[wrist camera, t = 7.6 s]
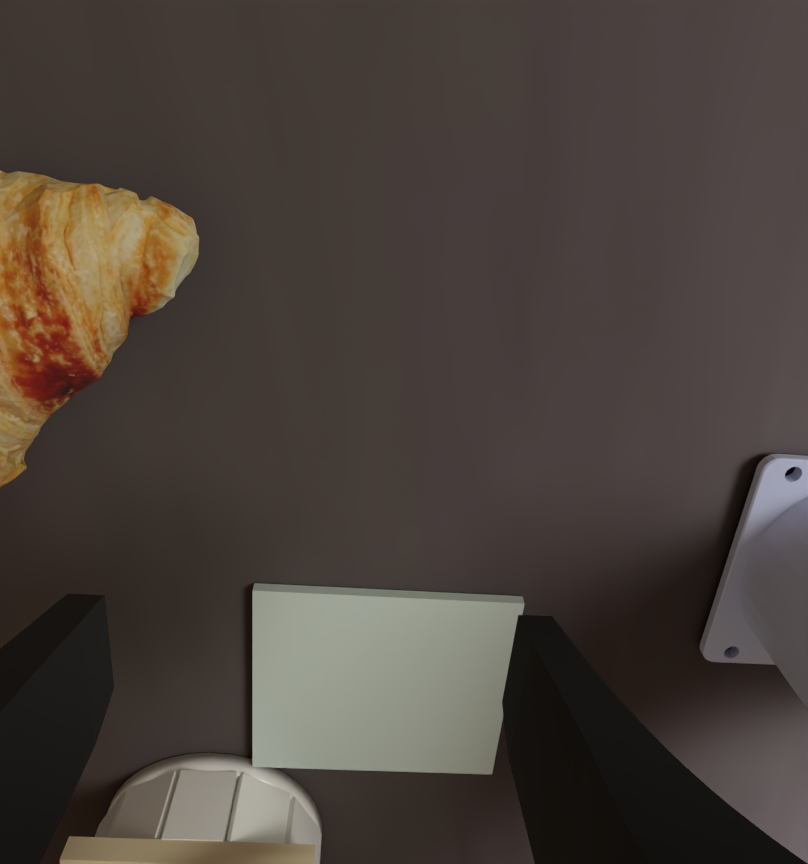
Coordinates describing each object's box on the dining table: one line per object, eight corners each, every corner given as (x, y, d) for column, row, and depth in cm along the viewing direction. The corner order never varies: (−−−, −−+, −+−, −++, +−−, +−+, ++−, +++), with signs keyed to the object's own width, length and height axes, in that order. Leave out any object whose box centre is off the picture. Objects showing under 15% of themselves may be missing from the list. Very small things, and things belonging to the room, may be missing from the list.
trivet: (522, 596, 25) (524, 603, 24) (490, 765, 28) (492, 774, 28) (254, 583, 24) (252, 590, 24) (253, 758, 27) (252, 766, 27)
